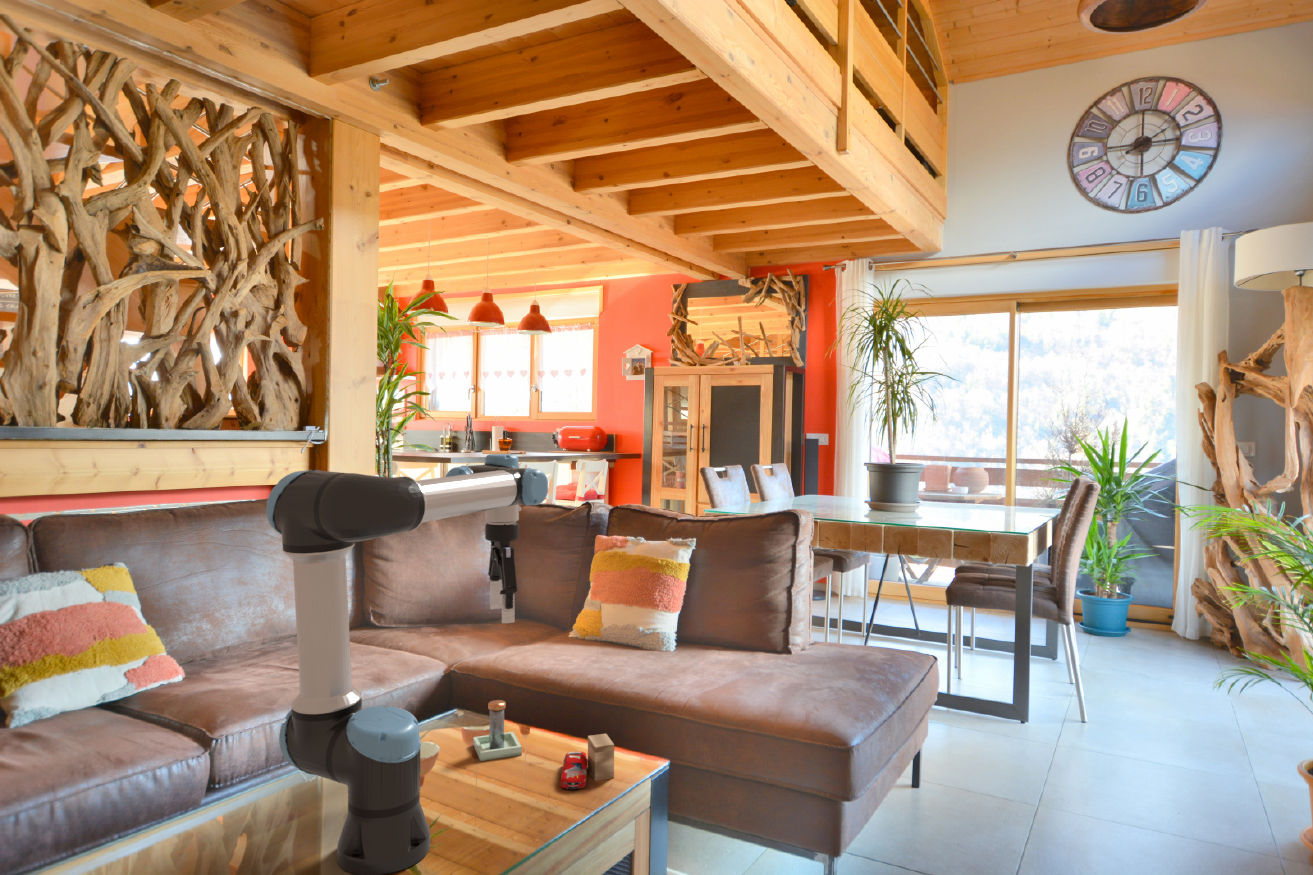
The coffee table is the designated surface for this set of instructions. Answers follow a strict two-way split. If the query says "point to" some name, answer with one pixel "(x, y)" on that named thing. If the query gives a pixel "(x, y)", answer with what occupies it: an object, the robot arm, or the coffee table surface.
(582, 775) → the race car
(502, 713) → the pin
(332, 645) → the robot arm
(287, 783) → the coffee table surface
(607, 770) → the brown lidded box
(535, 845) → the coffee table surface
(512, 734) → the tray
